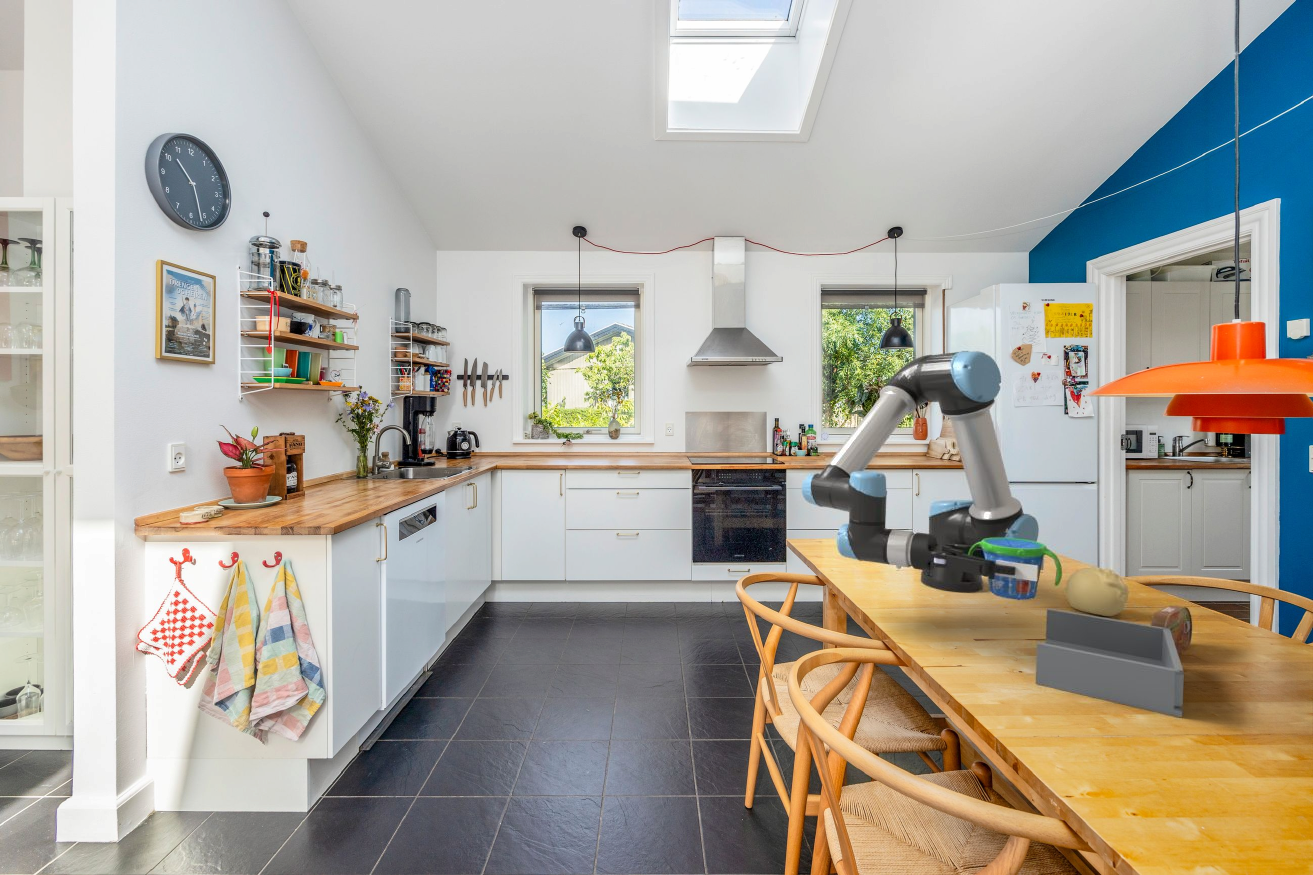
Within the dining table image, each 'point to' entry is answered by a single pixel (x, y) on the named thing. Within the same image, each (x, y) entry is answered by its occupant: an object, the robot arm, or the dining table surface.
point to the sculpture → (1097, 591)
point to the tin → (1175, 625)
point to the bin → (1111, 661)
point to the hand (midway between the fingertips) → (1040, 567)
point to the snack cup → (1016, 553)
